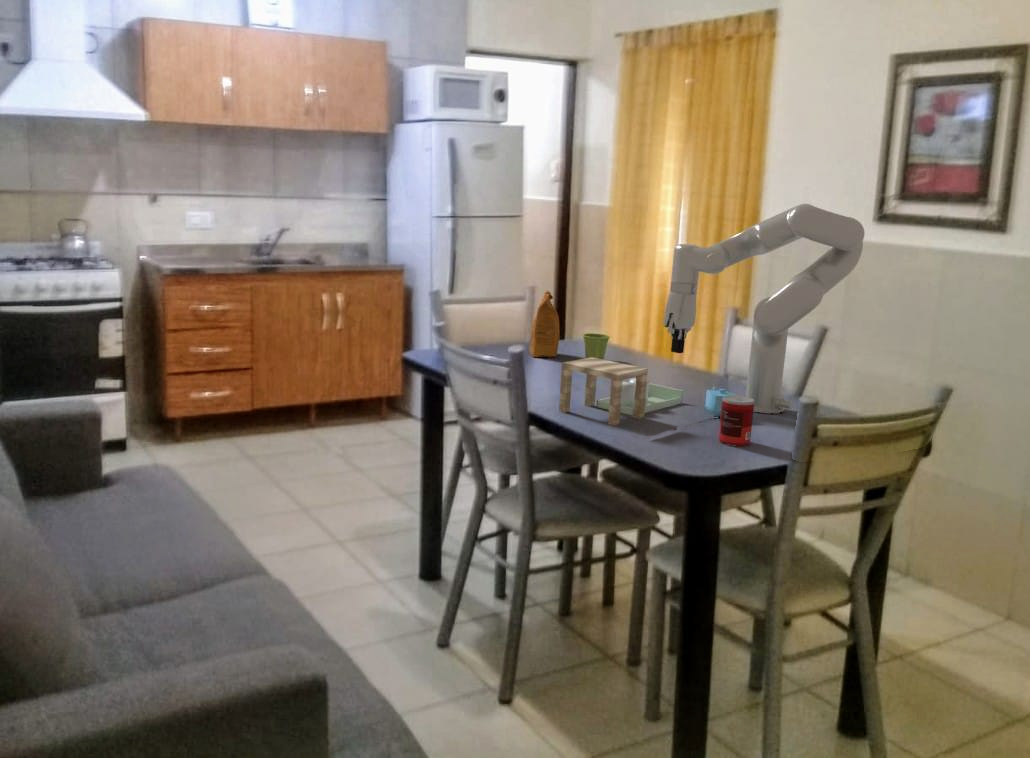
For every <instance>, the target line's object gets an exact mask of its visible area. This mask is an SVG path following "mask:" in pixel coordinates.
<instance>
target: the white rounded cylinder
mask: <svg viewBox="0 0 1030 758" xmlns="http://www.w3.org/2000/svg"><path fill="white" fill-rule="evenodd" d="M634 390H635V384H634V383H631V382H629V381H623V382H622V394H621V406H626V407H630V408H633V403H634Z"/></svg>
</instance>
